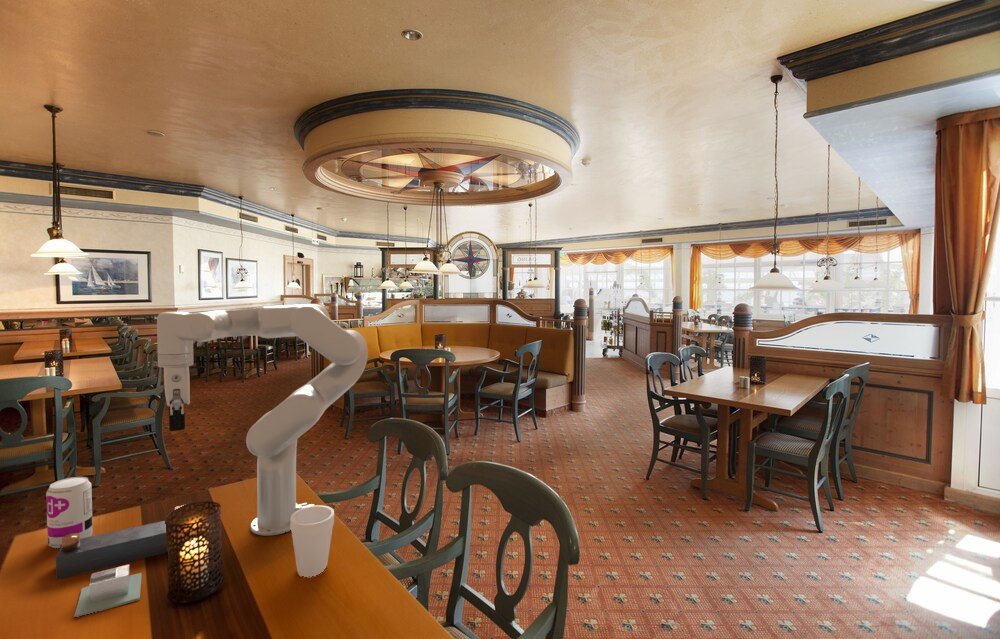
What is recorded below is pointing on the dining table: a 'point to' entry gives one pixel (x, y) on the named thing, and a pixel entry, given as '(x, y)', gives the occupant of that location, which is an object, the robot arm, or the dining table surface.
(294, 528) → the foam cup
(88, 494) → the supplement can
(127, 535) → the hand plane
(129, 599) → the mat
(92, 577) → the lever cap
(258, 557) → the dining table surface
